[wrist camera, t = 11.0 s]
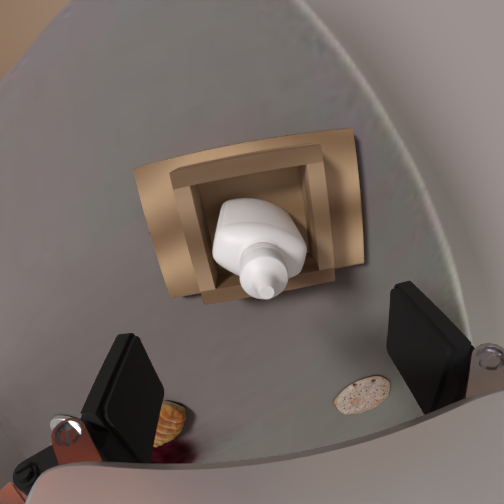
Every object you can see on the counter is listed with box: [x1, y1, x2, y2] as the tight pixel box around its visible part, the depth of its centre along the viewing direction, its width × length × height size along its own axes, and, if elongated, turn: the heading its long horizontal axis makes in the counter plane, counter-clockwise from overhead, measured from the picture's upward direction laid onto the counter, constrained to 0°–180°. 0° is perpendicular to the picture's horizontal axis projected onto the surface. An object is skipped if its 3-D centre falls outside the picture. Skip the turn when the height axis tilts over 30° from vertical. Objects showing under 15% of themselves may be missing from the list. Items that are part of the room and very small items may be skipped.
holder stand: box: [133, 128, 364, 305], centre depth 24 cm, size 12×18×5 cm, turn 100°
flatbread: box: [334, 376, 390, 415], centre depth 36 cm, size 8×8×1 cm
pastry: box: [153, 401, 186, 447], centre depth 35 cm, size 9×7×4 cm
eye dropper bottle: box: [212, 198, 307, 299], centre depth 19 cm, size 4×6×12 cm
